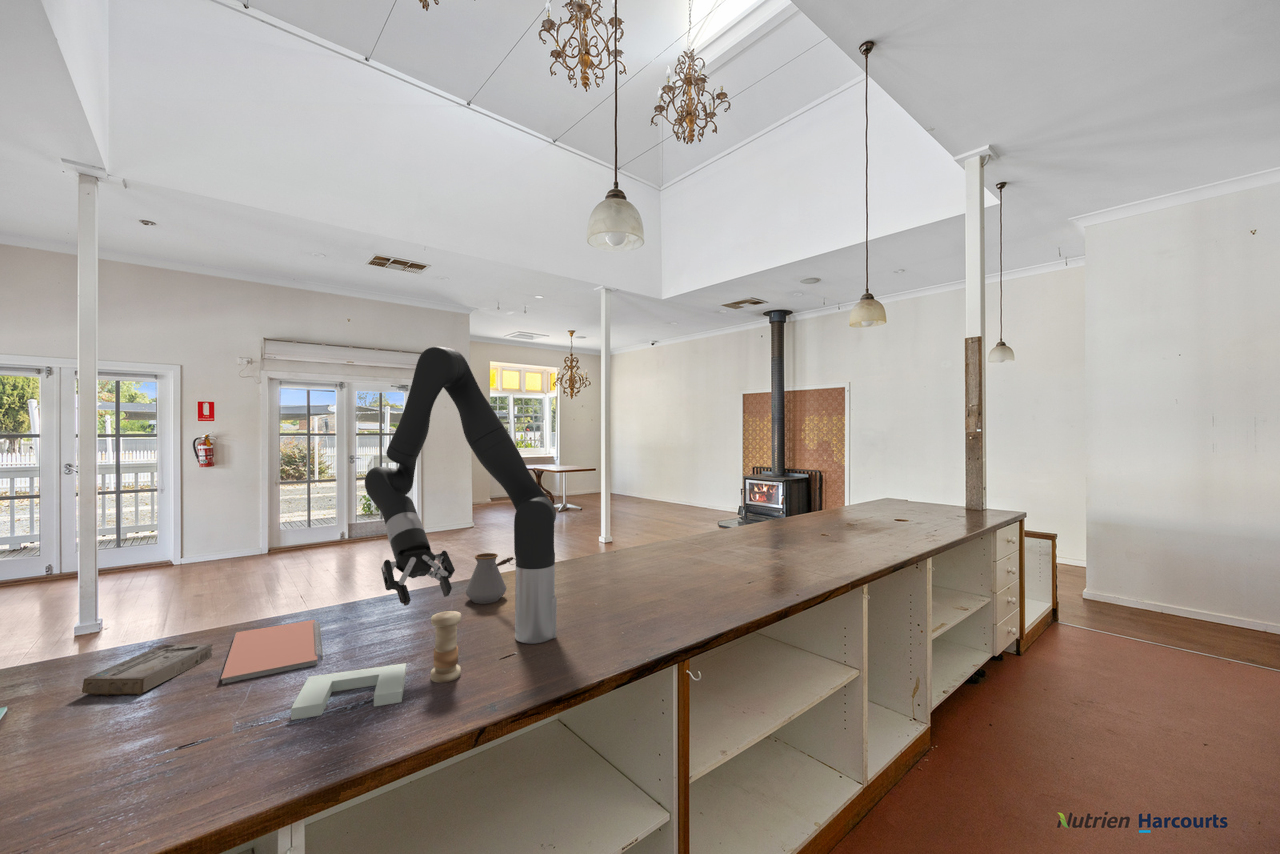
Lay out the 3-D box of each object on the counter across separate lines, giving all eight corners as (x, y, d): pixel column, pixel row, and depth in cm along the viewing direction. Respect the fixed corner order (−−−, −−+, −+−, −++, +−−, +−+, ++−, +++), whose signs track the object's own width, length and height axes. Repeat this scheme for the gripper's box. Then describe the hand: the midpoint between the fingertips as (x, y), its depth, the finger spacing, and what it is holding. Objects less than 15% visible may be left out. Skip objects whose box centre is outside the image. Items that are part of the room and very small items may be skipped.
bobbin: (460, 667, 107) (460, 609, 107) (460, 679, 102) (461, 618, 102) (431, 672, 105) (431, 612, 105) (430, 684, 100) (431, 622, 100)
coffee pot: (458, 599, 151) (459, 547, 151) (494, 591, 159) (495, 542, 159) (493, 618, 136) (493, 561, 136) (531, 608, 143) (531, 554, 144)
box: (79, 696, 94) (81, 678, 94) (161, 657, 111) (162, 642, 111) (142, 696, 95) (143, 679, 95) (213, 657, 112) (214, 643, 112)
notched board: (406, 673, 104) (406, 663, 104) (401, 702, 93) (401, 691, 93) (308, 687, 98) (308, 676, 98) (291, 720, 87) (291, 708, 87)
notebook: (323, 666, 108) (323, 656, 108) (220, 687, 99) (220, 677, 99) (319, 625, 131) (319, 617, 131) (235, 639, 122) (236, 631, 122)
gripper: (378, 530, 111) (398, 596, 103) (443, 523, 121) (466, 582, 113) (369, 551, 114) (388, 616, 106) (433, 542, 125) (454, 601, 116)
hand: (428, 598), depth 109 cm, fingers open, 8 cm apart
